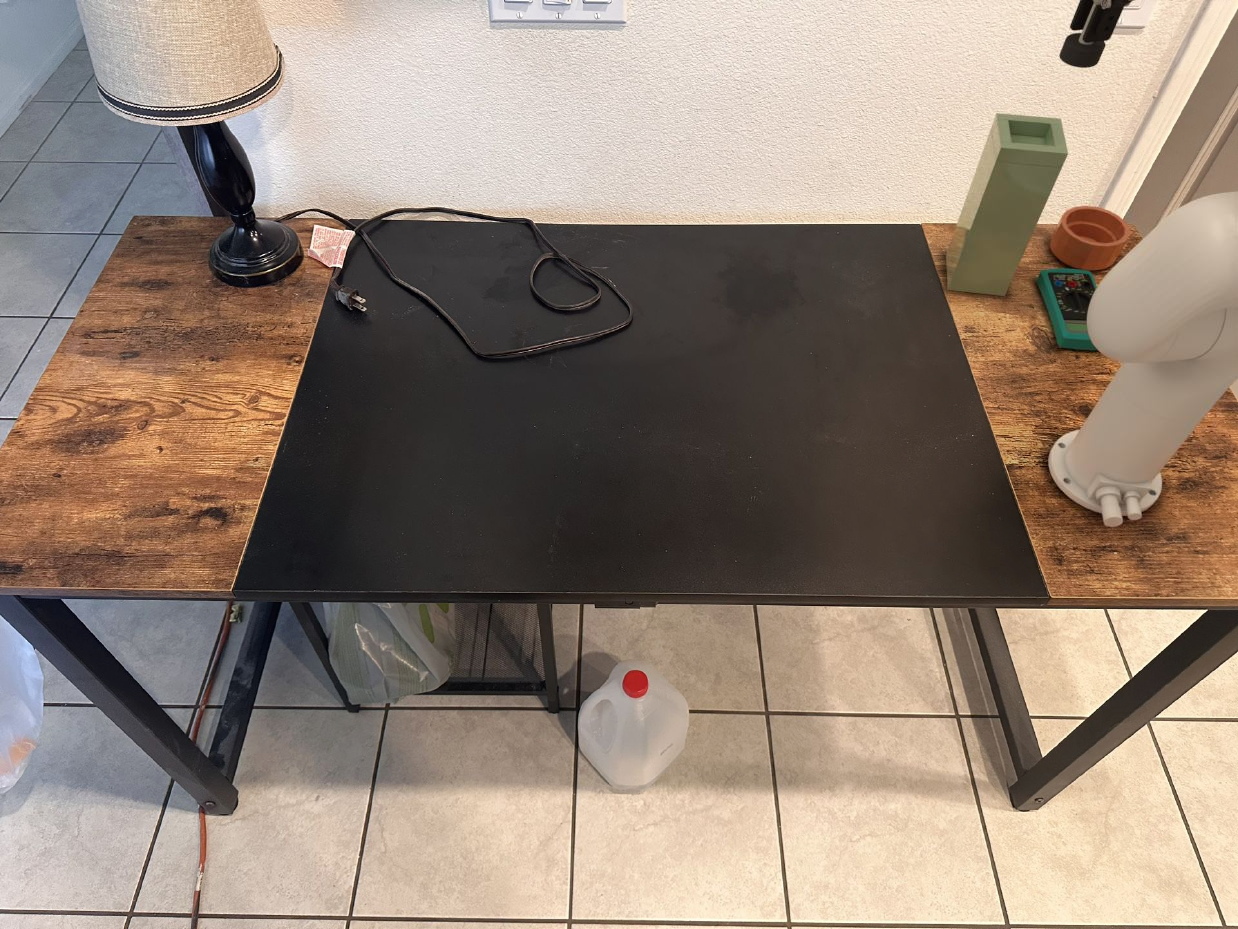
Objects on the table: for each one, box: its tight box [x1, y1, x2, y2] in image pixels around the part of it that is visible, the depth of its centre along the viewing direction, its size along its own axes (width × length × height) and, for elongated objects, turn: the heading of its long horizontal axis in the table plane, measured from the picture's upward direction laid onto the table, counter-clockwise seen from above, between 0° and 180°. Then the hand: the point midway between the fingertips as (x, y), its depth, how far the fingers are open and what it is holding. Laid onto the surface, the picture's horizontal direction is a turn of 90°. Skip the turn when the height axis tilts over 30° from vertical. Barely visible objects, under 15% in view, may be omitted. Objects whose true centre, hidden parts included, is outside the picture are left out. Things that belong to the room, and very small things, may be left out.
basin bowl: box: [1049, 205, 1131, 272], centre depth 127 cm, size 9×10×5 cm
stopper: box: [1058, 0, 1106, 69], centre depth 98 cm, size 4×4×8 cm
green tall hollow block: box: [945, 112, 1069, 297], centre depth 117 cm, size 8×8×23 cm
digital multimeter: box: [1035, 267, 1098, 351], centre depth 120 cm, size 7×15×3 cm, turn 176°
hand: (1089, 33), depth 99 cm, fingers closed on stopper, 2 cm apart
